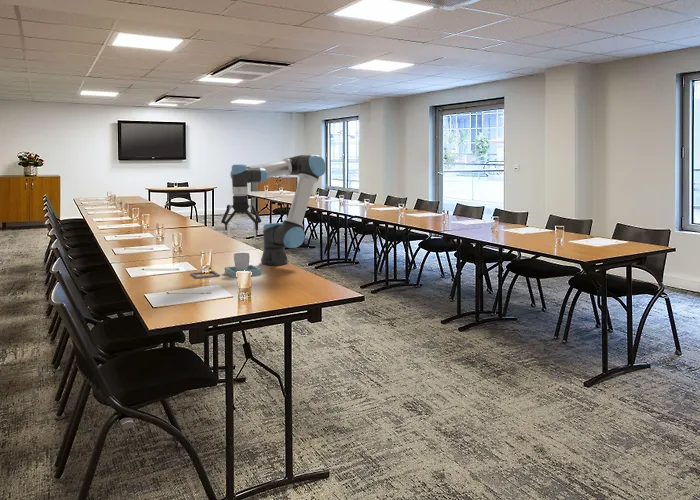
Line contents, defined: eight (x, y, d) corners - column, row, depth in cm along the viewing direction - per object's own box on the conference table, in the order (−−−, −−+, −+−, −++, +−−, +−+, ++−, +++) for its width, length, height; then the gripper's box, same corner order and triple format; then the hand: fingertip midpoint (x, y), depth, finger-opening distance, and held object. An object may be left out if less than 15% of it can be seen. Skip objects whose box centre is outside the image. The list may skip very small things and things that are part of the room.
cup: (252, 273, 301) (251, 254, 299) (236, 275, 297) (236, 255, 295) (247, 270, 308) (246, 252, 306) (232, 272, 304) (231, 253, 302)
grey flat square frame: (213, 272, 307) (213, 270, 307) (220, 276, 297) (220, 274, 296) (190, 274, 301) (190, 273, 301) (196, 278, 291) (196, 277, 291)
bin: (251, 270, 312) (251, 264, 312) (261, 274, 299) (261, 269, 299) (224, 273, 305) (224, 267, 305) (233, 277, 292) (233, 271, 292)
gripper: (213, 195, 293) (216, 237, 296) (263, 195, 292) (265, 237, 295) (217, 194, 300) (219, 235, 304) (266, 194, 300) (267, 235, 303)
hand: (242, 236), depth 299 cm, fingers open, 13 cm apart
